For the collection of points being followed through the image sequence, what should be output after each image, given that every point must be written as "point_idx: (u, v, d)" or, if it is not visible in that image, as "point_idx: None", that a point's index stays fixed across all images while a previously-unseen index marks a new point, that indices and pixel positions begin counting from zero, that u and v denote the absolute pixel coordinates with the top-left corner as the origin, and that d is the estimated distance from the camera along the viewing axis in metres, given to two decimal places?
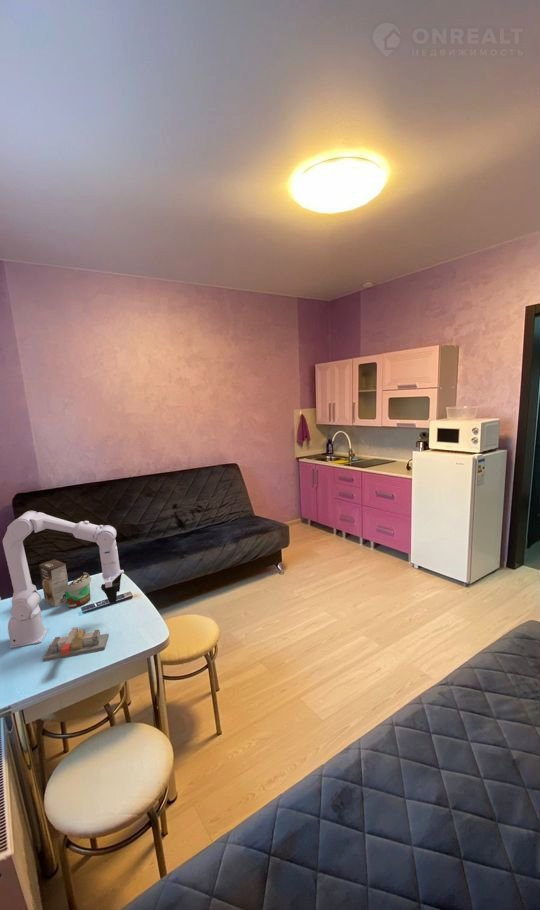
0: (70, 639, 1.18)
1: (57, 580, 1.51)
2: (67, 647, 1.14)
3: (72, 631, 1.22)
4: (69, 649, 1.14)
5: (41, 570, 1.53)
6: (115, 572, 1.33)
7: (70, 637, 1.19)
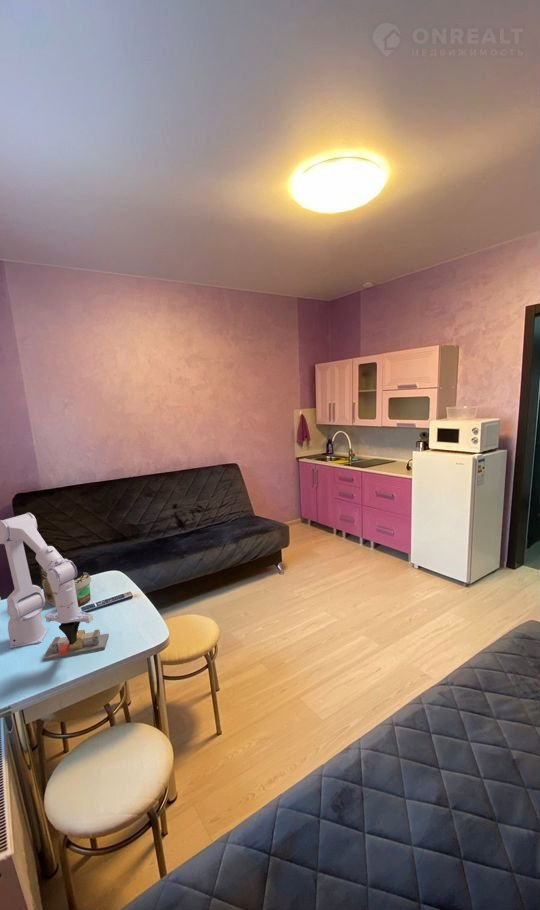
0: None
1: None
2: (65, 647, 1.14)
3: None
4: (67, 650, 1.14)
5: (41, 570, 1.53)
6: (78, 609, 1.18)
7: None
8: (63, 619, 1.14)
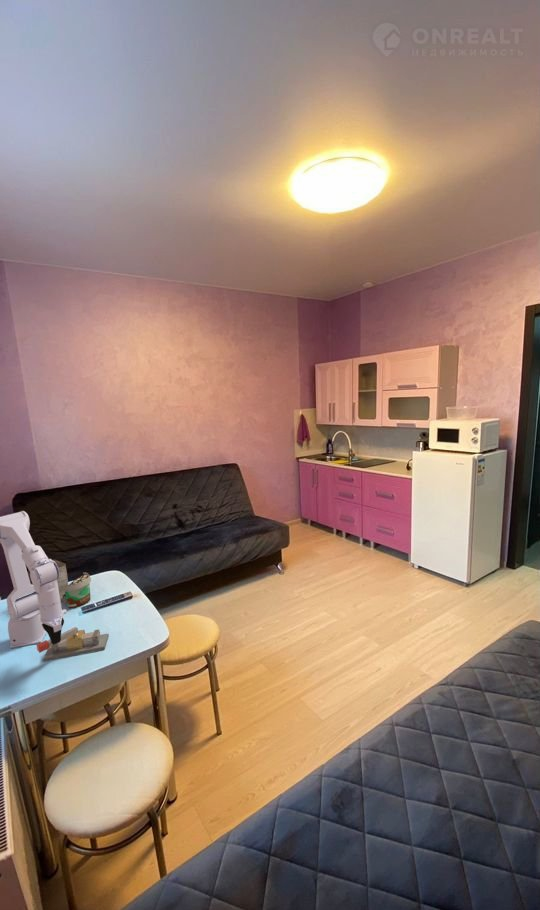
0: None
1: (57, 580, 1.51)
2: (40, 645, 1.15)
3: (69, 630, 1.23)
4: (42, 648, 1.15)
5: None
6: (59, 613, 1.16)
7: None
8: (41, 618, 1.15)
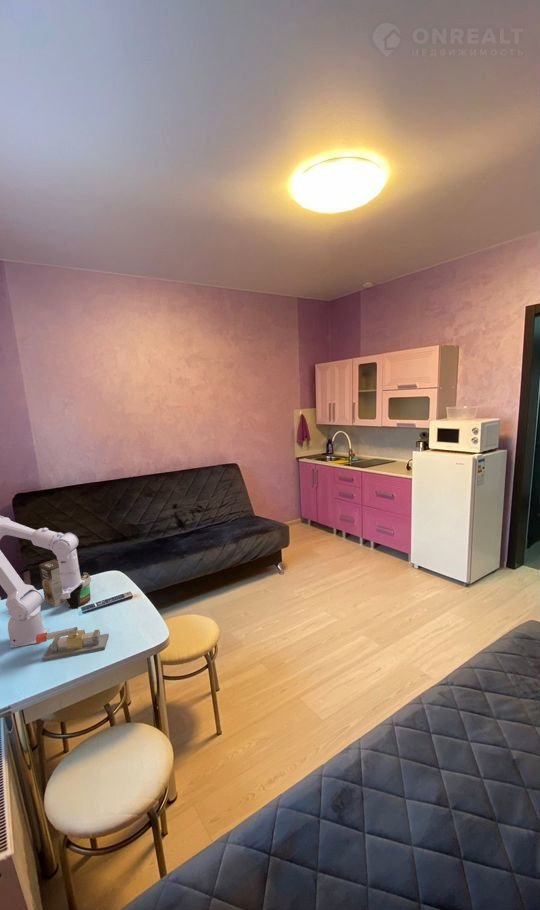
0: (54, 633, 1.22)
1: (57, 580, 1.51)
2: (38, 636, 1.20)
3: (69, 629, 1.23)
4: (38, 639, 1.20)
5: (41, 570, 1.53)
6: (75, 582, 1.26)
7: (57, 632, 1.22)
8: None
